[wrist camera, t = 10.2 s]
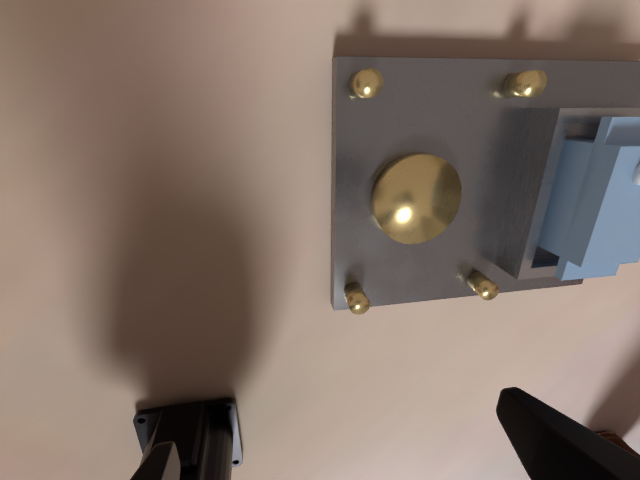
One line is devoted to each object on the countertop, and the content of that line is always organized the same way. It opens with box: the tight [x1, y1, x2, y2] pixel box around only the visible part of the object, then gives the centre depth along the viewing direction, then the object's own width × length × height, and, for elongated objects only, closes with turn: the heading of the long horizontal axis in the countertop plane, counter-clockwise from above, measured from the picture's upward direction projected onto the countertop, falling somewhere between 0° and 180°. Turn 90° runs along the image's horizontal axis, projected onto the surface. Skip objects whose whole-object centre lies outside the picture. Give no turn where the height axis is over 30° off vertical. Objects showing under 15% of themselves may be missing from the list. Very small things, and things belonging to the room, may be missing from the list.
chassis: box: [331, 56, 640, 314], centre depth 19 cm, size 14×18×3 cm
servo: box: [537, 116, 640, 281], centre depth 18 cm, size 8×4×5 cm, turn 0°
